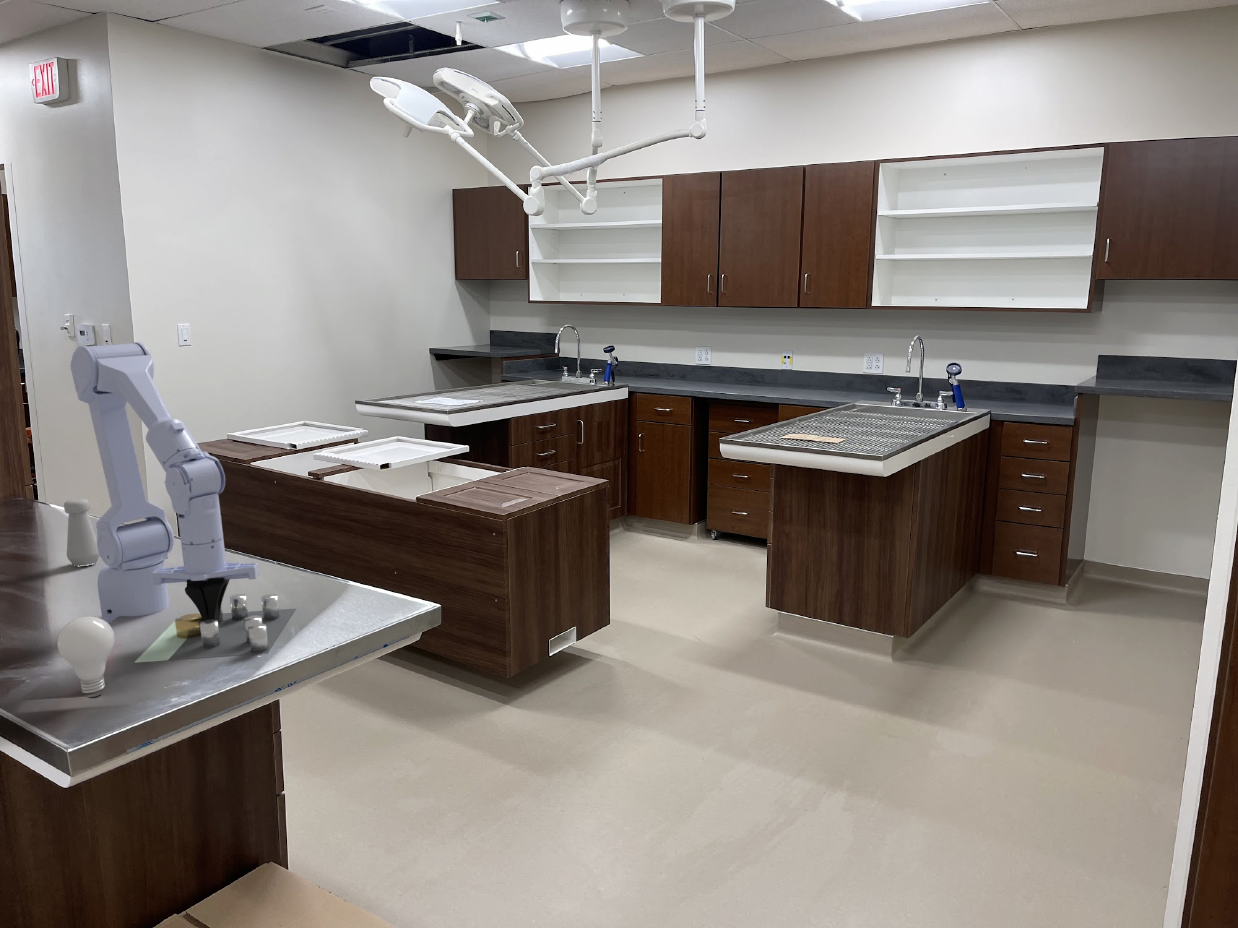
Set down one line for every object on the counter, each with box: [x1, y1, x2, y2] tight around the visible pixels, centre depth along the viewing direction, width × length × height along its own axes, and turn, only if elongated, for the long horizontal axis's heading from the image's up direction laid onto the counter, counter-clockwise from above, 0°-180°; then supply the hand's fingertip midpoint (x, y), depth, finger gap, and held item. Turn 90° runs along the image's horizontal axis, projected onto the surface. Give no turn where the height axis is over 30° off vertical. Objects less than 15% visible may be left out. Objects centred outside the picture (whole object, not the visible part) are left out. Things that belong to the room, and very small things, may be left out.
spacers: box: [200, 593, 280, 653], centre depth 135 cm, size 12×16×4 cm
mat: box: [133, 608, 297, 664], centre depth 136 cm, size 18×18×1 cm
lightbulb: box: [57, 615, 116, 699], centre depth 117 cm, size 6×6×11 cm
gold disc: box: [174, 613, 203, 639], centre depth 136 cm, size 4×4×2 cm
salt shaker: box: [63, 498, 100, 567], centre depth 175 cm, size 6×6×13 cm
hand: (212, 626), depth 136 cm, fingers closed
